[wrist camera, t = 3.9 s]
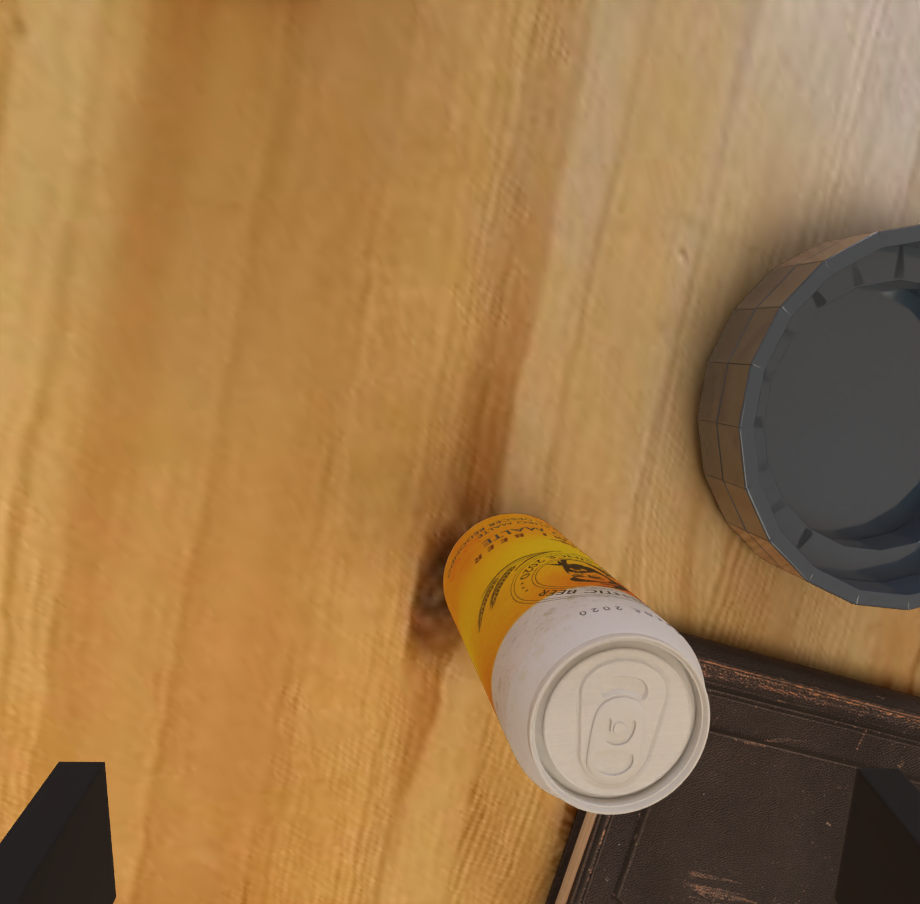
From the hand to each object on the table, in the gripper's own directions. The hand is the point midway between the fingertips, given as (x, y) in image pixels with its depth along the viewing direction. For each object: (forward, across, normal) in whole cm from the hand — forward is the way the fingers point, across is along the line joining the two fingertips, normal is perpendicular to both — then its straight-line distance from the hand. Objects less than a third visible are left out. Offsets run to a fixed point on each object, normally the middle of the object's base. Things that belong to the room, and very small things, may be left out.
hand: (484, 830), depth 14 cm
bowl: (+26, +19, +3) cm, 32 cm away
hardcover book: (+23, +18, -18) cm, 34 cm away
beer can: (+23, +3, -5) cm, 23 cm away
